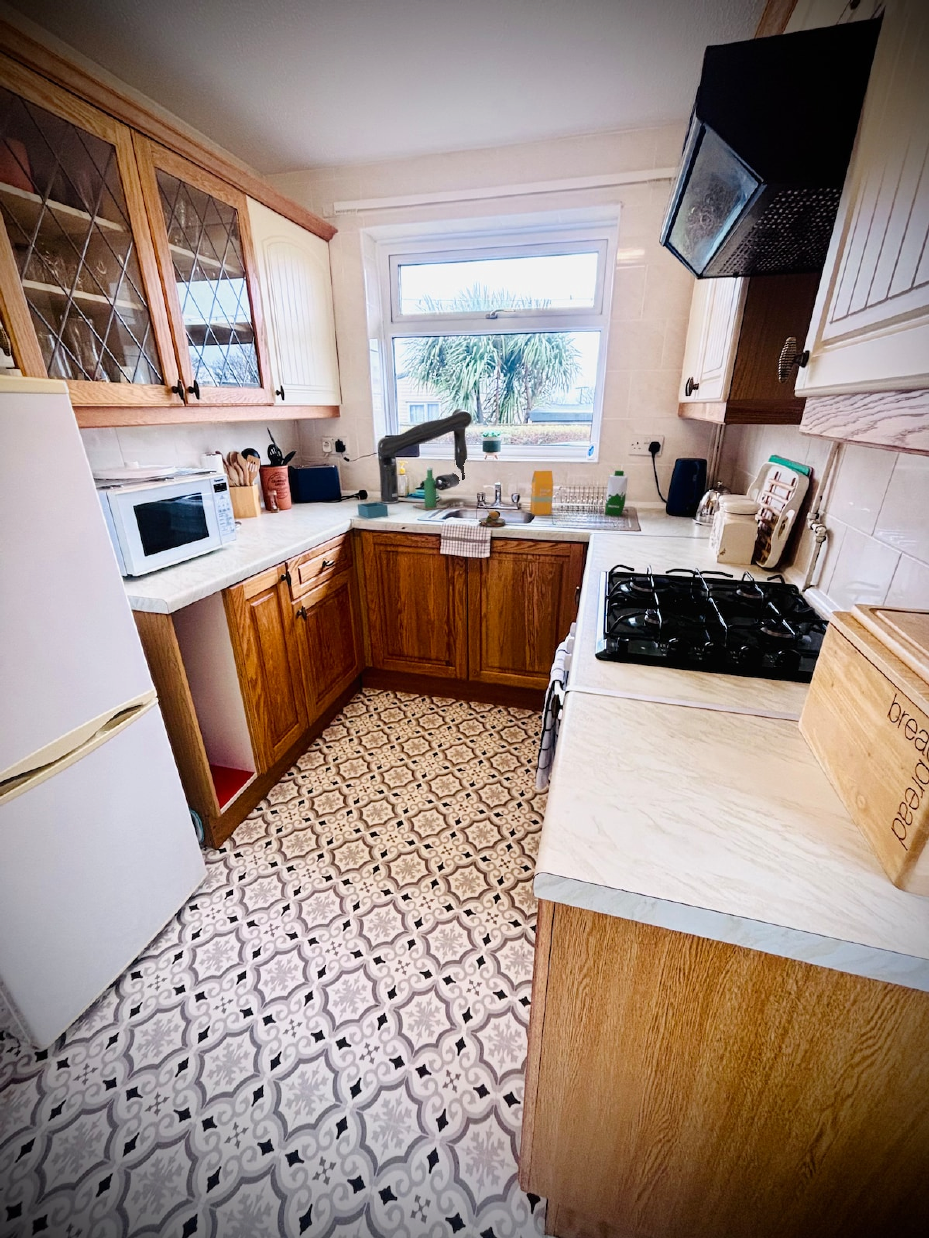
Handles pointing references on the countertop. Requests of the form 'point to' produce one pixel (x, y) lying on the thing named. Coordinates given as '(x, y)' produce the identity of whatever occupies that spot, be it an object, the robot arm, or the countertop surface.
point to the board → (430, 507)
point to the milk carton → (616, 493)
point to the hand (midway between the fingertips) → (427, 486)
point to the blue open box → (372, 510)
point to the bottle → (430, 489)
